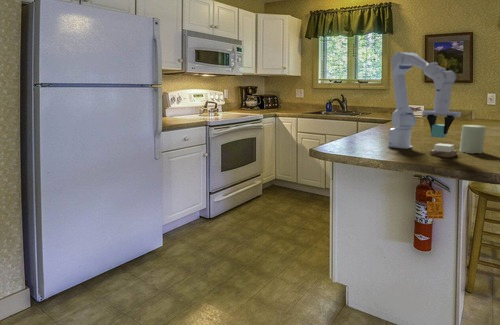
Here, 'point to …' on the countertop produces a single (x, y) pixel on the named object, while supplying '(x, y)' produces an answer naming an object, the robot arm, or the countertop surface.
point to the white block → (443, 147)
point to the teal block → (438, 131)
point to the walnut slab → (443, 153)
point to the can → (472, 138)
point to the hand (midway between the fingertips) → (438, 133)
